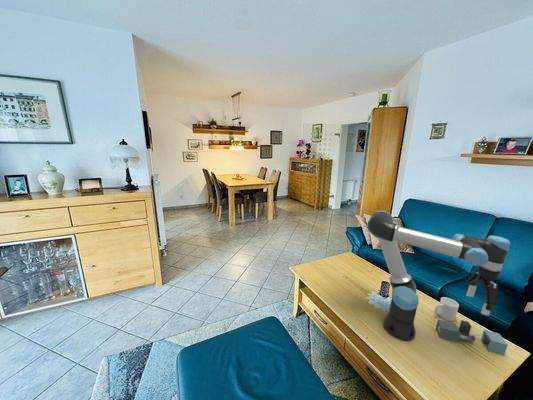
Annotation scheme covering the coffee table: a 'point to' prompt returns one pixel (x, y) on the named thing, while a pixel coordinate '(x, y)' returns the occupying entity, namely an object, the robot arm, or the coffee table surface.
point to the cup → (447, 309)
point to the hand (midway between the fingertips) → (476, 304)
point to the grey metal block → (449, 331)
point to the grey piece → (463, 331)
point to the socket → (494, 342)
